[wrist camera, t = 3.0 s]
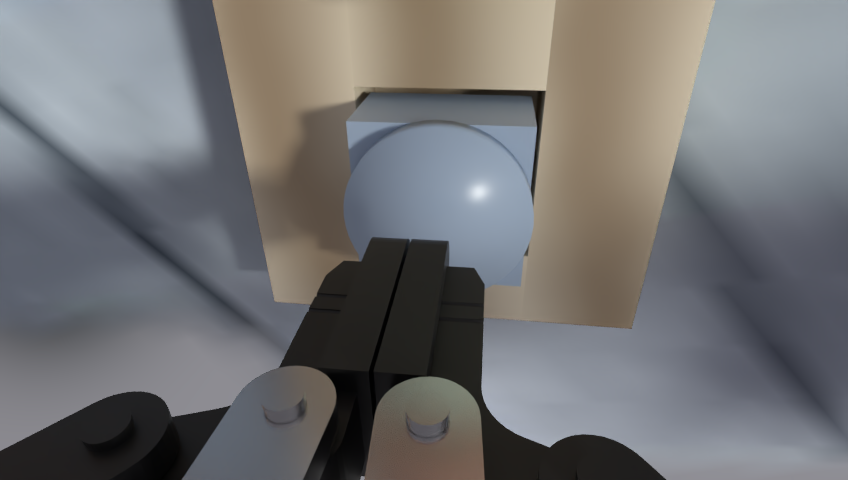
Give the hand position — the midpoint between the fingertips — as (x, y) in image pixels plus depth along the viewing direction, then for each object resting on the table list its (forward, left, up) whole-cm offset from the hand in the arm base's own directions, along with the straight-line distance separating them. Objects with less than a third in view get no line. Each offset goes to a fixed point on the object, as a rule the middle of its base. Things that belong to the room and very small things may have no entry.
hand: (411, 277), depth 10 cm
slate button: (0, 0, -6) cm, 6 cm away
